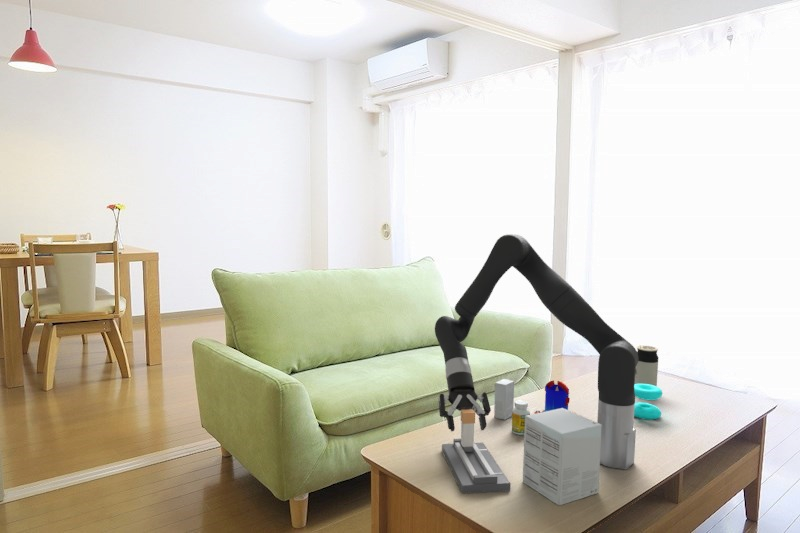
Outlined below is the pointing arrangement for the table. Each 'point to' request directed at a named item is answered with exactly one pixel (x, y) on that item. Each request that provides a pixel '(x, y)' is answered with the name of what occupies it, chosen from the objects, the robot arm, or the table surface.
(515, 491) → the table surface
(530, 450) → the supplement box
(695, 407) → the table surface
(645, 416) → the donuts
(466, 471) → the grey rail track base
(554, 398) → the fantasy tower
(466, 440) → the fader
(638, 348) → the travel mug
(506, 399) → the skincare box
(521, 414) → the supplement bottle
